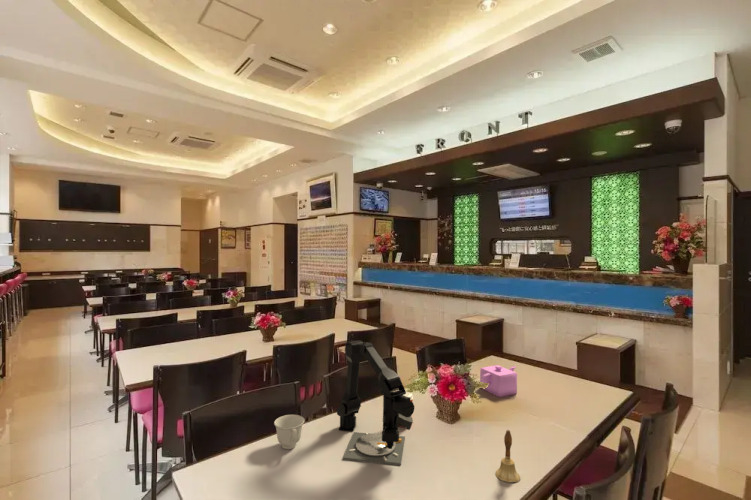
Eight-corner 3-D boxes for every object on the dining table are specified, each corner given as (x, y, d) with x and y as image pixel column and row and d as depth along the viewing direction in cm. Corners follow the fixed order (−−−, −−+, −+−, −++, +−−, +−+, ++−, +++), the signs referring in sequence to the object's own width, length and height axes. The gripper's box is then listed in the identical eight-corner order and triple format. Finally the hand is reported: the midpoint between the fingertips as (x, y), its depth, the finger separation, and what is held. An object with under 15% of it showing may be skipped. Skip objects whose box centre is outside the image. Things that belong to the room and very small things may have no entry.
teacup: (279, 460, 142) (279, 433, 142) (270, 442, 155) (271, 417, 155) (310, 452, 147) (310, 427, 147) (299, 435, 160) (299, 412, 160)
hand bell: (491, 469, 137) (492, 426, 137) (513, 468, 138) (514, 425, 138) (501, 483, 129) (501, 437, 129) (524, 482, 130) (525, 436, 130)
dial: (350, 453, 145) (350, 443, 145) (361, 433, 160) (361, 424, 160) (391, 459, 141) (391, 448, 141) (398, 438, 157) (398, 428, 157)
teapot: (526, 391, 213) (526, 366, 213) (492, 399, 202) (492, 373, 202) (505, 382, 227) (506, 359, 227) (473, 389, 216) (473, 364, 215)
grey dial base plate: (343, 459, 143) (343, 454, 143) (353, 433, 162) (353, 429, 162) (400, 465, 139) (400, 460, 139) (404, 438, 159) (404, 434, 159)
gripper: (412, 419, 135) (412, 462, 135) (410, 398, 154) (409, 437, 154) (382, 418, 136) (381, 461, 136) (383, 398, 155) (382, 436, 155)
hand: (390, 448), depth 145 cm, fingers closed
